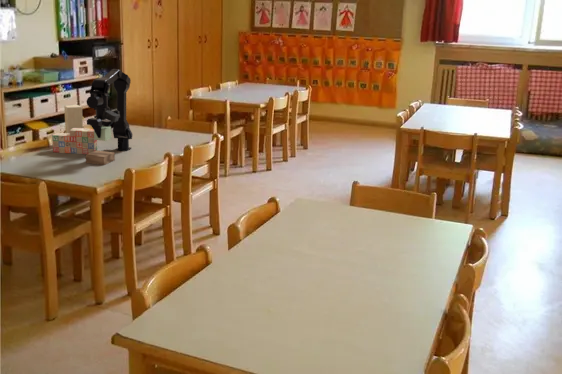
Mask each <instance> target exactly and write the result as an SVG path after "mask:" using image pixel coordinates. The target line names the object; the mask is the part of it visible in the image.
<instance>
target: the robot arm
mask: <svg viewBox="0 0 562 374" xmlns="http://www.w3.org/2000/svg"><path fill="white" fill-rule="evenodd" d="M112 84H113V89H114V90H115V92H116V110H115V111H112V110H111V108H110V107H109V106H108V104H109V103H108V100H109V98H108V96H109V91H110V89H111V85H112ZM130 85H131V78H130V76H129V75H128V74H127V73H124V71H122V70H121V69H117V68H113V69H111V70H110V71H108V72H107V73H106V74H105V75H104V76H103V77H97V78H95V79H93V81H92V83H91V86H90V91H89V96H88V98H86V105H87V106H88V108H90V109H93V110H94V111H95V115H94V116H93V117H91V118H87V120H86V125H87V126H91V129H94V131H95V133H96V135H97V137H98V138H100V137H101V128H102V126H108V127H111V125H113V127H112V128H113V129H112V134H113V139H117V147H116V148H114V149H115V150H116V151H124V152H127V151H129V150H132V147H130V140H132V139H133V132H132V130H131V129H130V124H129V122H128V120H127V92H128V90H129V89H130V87H131V86H130Z"/></svg>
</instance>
